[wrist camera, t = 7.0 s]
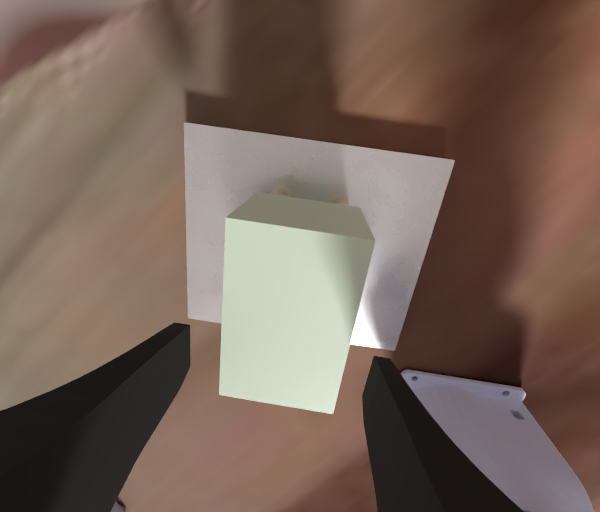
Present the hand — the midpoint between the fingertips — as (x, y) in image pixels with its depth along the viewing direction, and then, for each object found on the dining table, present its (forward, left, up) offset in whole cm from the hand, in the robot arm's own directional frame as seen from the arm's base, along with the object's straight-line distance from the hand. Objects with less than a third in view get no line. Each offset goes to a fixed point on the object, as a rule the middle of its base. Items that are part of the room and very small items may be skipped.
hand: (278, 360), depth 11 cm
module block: (0, -1, -5) cm, 5 cm away
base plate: (0, -2, -10) cm, 10 cm away
